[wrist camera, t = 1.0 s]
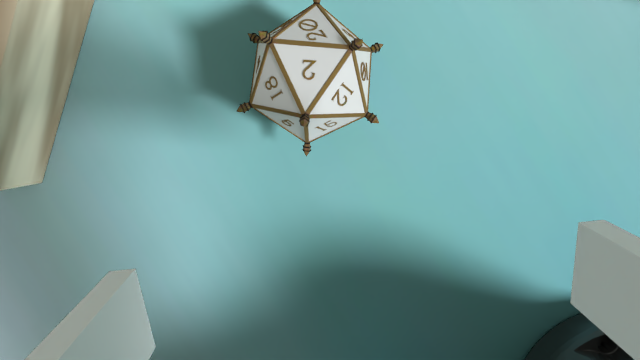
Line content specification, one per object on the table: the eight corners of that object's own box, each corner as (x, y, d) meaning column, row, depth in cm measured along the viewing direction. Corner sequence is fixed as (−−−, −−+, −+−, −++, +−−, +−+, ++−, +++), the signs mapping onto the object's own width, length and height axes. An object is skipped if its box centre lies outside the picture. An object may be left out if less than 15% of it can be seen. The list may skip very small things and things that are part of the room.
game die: (291, 85, 31) (194, 10, 23) (387, 31, 27) (313, -81, 19) (310, 186, 28) (204, 141, 19) (423, 140, 24) (351, 61, 16)
